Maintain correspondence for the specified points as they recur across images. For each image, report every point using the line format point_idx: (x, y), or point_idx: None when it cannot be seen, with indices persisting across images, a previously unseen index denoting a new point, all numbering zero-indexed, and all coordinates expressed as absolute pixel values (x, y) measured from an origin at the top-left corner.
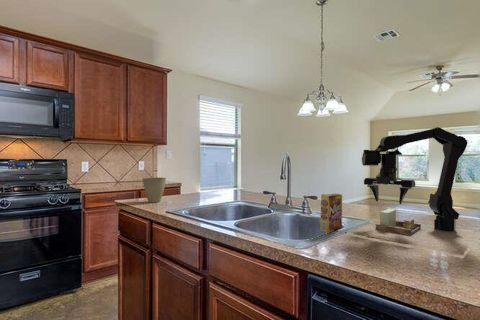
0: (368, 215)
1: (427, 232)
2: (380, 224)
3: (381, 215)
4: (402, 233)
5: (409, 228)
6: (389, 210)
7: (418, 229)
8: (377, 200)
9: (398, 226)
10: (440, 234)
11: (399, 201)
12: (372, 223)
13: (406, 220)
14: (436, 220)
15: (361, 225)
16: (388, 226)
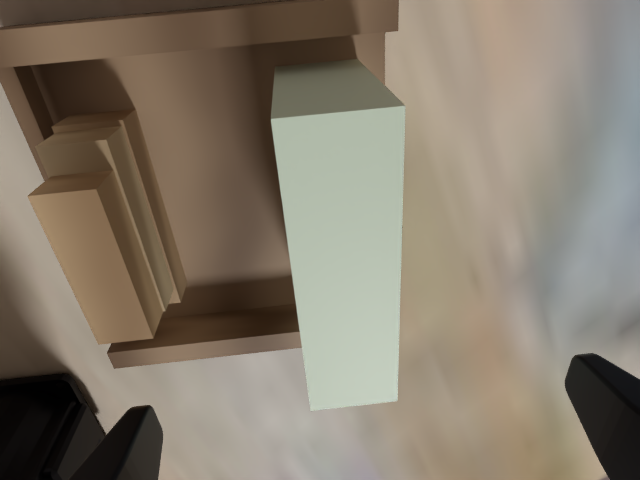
0: (578, 456)
1: (88, 329)
2: (359, 67)
3: (369, 93)
4: (84, 20)
5: (53, 137)
6: (345, 325)
7: None
8: (583, 381)
9: (278, 287)
10: (3, 341)
11: (128, 443)
12: (500, 286)
13: (78, 203)
14: (35, 467)
15: (568, 146)
16: (234, 10)
